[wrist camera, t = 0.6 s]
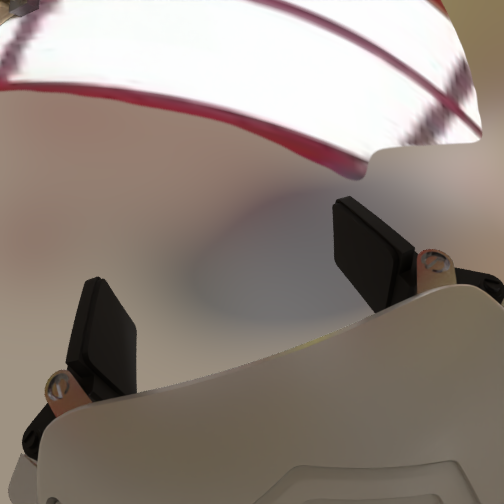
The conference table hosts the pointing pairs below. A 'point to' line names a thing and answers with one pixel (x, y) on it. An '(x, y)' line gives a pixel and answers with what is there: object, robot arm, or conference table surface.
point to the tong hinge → (23, 7)
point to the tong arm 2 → (4, 12)
